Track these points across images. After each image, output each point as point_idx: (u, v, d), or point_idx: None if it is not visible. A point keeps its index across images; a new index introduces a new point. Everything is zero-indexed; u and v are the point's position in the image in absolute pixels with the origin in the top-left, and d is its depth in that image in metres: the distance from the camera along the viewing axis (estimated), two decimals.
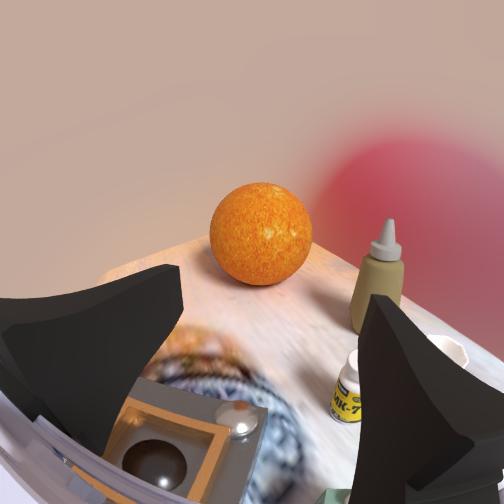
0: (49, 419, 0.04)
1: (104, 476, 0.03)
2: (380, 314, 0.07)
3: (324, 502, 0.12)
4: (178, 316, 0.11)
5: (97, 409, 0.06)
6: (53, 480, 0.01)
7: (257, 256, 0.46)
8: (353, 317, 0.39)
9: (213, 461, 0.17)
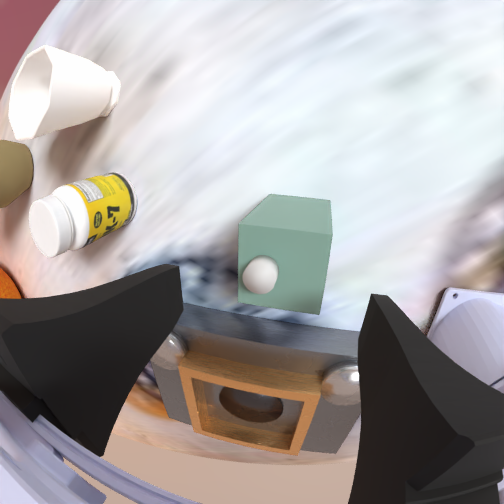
0: (49, 419, 0.04)
1: (104, 476, 0.03)
2: (379, 314, 0.07)
3: None
4: (178, 316, 0.11)
5: (97, 409, 0.06)
6: (53, 480, 0.01)
7: None
8: (13, 200, 0.22)
9: (224, 380, 0.19)
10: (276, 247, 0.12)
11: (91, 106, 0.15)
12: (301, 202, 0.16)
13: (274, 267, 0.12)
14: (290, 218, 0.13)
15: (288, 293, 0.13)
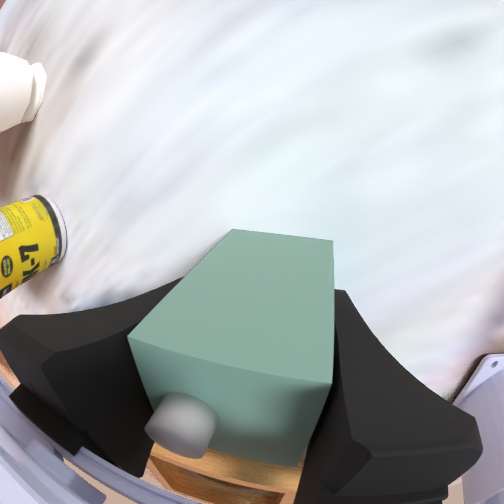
0: (91, 449, 0.04)
1: (104, 476, 0.03)
2: None
3: None
4: None
5: (139, 431, 0.06)
6: (53, 480, 0.01)
7: None
8: None
9: (183, 464, 0.12)
10: (206, 389, 0.05)
11: (0, 112, 0.08)
12: (281, 250, 0.09)
13: (203, 426, 0.05)
14: (246, 312, 0.06)
15: (240, 444, 0.06)
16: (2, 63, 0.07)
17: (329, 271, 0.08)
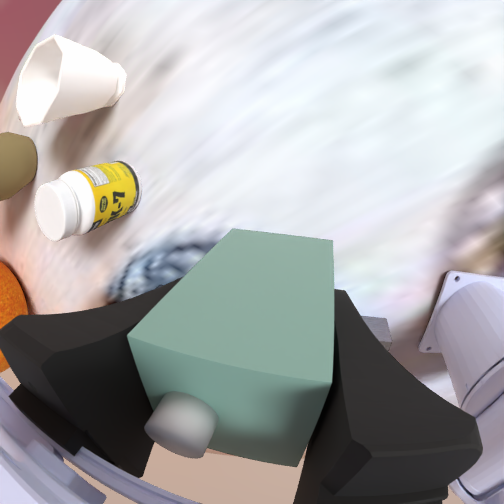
0: (91, 449, 0.04)
1: (104, 476, 0.03)
2: None
3: None
4: None
5: (139, 430, 0.06)
6: (53, 480, 0.01)
7: None
8: (16, 191, 0.22)
9: None
10: (206, 389, 0.05)
11: (98, 95, 0.15)
12: (281, 250, 0.09)
13: (203, 426, 0.05)
14: (245, 310, 0.06)
15: (240, 444, 0.06)
16: (99, 59, 0.14)
17: (329, 270, 0.08)
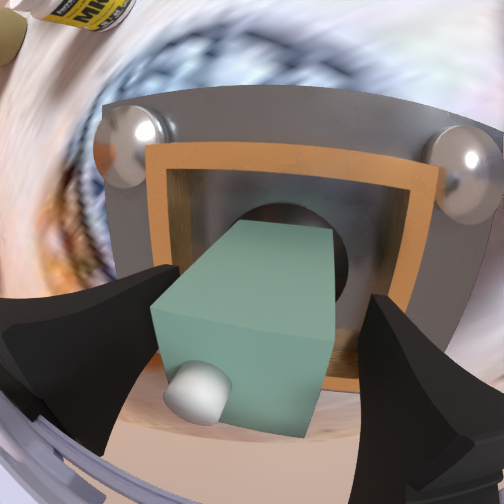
0: (49, 419, 0.04)
1: (104, 476, 0.03)
2: (379, 314, 0.07)
3: None
4: None
5: (97, 409, 0.06)
6: (53, 480, 0.01)
7: None
8: None
9: (235, 148, 0.09)
10: (222, 354, 0.06)
11: None
12: (285, 237, 0.10)
13: (218, 390, 0.06)
14: (256, 285, 0.07)
15: (251, 413, 0.07)
16: None
17: (329, 253, 0.09)
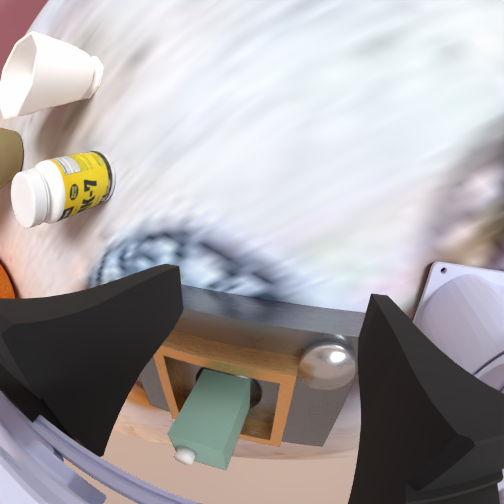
0: (49, 419, 0.04)
1: (104, 476, 0.03)
2: (379, 314, 0.07)
3: None
4: (178, 316, 0.11)
5: (97, 409, 0.06)
6: (53, 480, 0.01)
7: None
8: (3, 184, 0.21)
9: (195, 357, 0.19)
10: (192, 446, 0.15)
11: (73, 87, 0.15)
12: (223, 388, 0.20)
13: (191, 456, 0.15)
14: (203, 424, 0.16)
15: (204, 460, 0.16)
16: (75, 52, 0.13)
17: (239, 404, 0.18)
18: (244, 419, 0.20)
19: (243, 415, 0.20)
